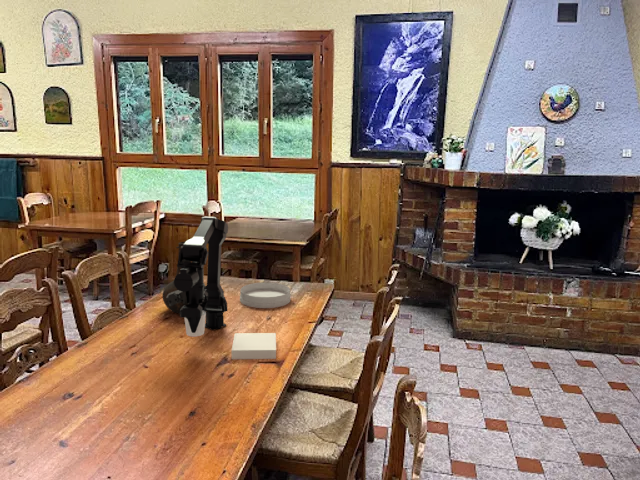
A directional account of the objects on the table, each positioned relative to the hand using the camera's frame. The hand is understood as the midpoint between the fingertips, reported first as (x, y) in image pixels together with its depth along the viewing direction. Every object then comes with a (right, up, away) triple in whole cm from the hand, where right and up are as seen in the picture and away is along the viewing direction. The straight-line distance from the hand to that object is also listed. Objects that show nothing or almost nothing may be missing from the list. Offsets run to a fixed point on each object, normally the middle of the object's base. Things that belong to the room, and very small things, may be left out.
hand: (195, 328), depth 155 cm
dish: (+16, +2, +56) cm, 58 cm away
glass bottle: (-14, 0, +39) cm, 42 cm away
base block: (+19, -8, +4) cm, 21 cm away
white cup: (0, -2, 0) cm, 2 cm away
